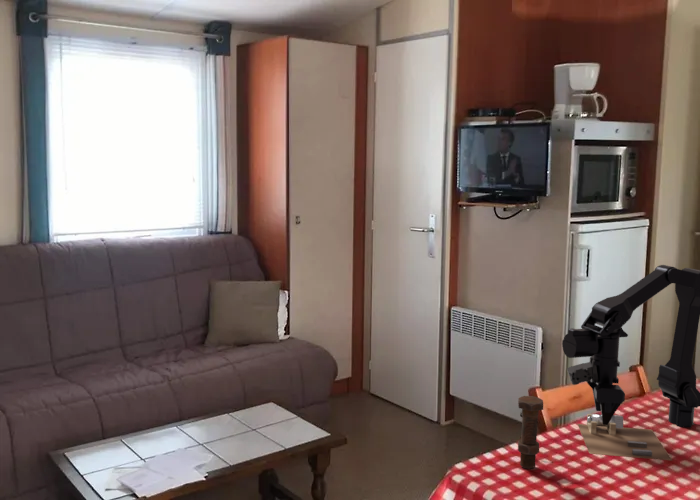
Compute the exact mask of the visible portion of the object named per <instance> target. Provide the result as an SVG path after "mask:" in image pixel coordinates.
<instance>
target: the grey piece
mask: <svg viewBox="0 0 700 500" xmlns="http://www.w3.org/2000/svg"><path fill="white" fill-rule="evenodd" d="M590 414H591V417H587V416H586V423H587V422H588V423H591V421H596V423H597V426H603V427H610V423H615V424H616V428H623V427H624V416H623V415H619V414H618V415H616V414H614V415H613V417H612V418H611V420H610V422H609V423H608V425H604V424H603V423H602V415H601V414H599V413H597V414H596V413H590Z"/></svg>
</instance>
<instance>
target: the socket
mask: <svg viewBox="0 0 700 500" xmlns="http://www.w3.org/2000/svg"><path fill="white" fill-rule="evenodd" d="M627 445H628V447H638V448H647V443H646V442H636V441H628V444H627ZM632 454H633V455H640V456H652V451H651V450H640V449H632Z"/></svg>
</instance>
